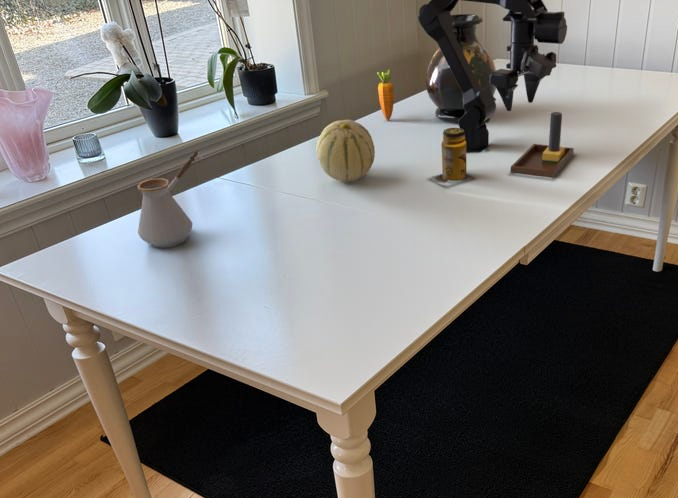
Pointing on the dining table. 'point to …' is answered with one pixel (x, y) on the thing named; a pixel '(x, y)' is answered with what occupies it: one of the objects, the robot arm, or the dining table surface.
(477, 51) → the amphora vase
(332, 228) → the dining table surface
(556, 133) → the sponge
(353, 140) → the cantaloupe
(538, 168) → the tray
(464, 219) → the dining table surface
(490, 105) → the robot arm
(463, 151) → the condiment
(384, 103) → the carrot
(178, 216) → the coffee pot
